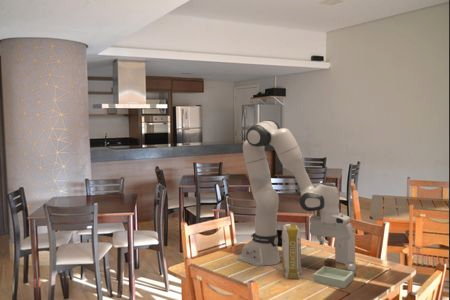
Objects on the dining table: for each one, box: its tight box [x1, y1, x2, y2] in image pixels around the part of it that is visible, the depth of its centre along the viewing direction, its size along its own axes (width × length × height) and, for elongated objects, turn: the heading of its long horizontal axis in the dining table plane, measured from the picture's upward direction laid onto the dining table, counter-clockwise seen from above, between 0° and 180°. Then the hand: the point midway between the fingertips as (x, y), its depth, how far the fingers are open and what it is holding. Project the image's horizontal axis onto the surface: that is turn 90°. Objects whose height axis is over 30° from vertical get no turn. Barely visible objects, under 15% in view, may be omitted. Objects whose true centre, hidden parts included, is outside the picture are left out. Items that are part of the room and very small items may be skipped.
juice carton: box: [281, 223, 302, 279], centre depth 183 cm, size 9×8×24 cm
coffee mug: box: [277, 225, 283, 248], centre depth 229 cm, size 12×9×10 cm
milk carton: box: [334, 228, 356, 265], centre depth 199 cm, size 7×7×19 cm
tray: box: [312, 265, 355, 289], centre depth 177 cm, size 14×12×3 cm
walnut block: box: [323, 257, 337, 269], centre depth 189 cm, size 4×4×5 cm
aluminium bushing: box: [345, 262, 357, 277], centre depth 183 cm, size 4×4×5 cm
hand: (331, 245), depth 188 cm, fingers open, 8 cm apart
